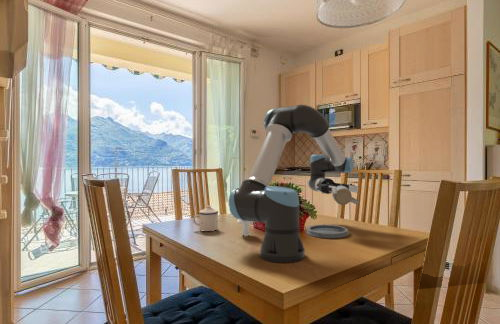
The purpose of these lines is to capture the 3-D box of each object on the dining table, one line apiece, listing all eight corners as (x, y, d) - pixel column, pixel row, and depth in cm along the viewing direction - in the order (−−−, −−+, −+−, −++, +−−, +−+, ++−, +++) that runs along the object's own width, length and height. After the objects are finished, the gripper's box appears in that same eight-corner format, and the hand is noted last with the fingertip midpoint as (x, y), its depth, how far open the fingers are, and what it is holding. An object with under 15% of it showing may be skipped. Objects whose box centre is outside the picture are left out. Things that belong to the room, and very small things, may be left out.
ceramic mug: (334, 205, 126) (334, 187, 126) (332, 202, 134) (332, 185, 134) (360, 205, 124) (360, 187, 124) (357, 203, 132) (357, 185, 132)
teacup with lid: (219, 227, 147) (219, 204, 147) (217, 232, 138) (217, 207, 138) (195, 228, 147) (194, 204, 147) (191, 232, 138) (191, 207, 138)
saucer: (315, 239, 122) (315, 234, 122) (301, 229, 140) (301, 225, 140) (356, 237, 125) (356, 232, 125) (337, 227, 143) (336, 223, 143)
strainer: (248, 238, 127) (247, 202, 127) (234, 236, 130) (233, 201, 130) (256, 234, 133) (256, 200, 133) (243, 232, 136) (242, 199, 136)
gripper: (345, 192, 150) (370, 197, 127) (304, 193, 146) (322, 199, 124) (345, 177, 150) (370, 180, 127) (304, 178, 146) (322, 181, 124)
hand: (346, 189), depth 126 cm, fingers closed on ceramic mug, 9 cm apart
